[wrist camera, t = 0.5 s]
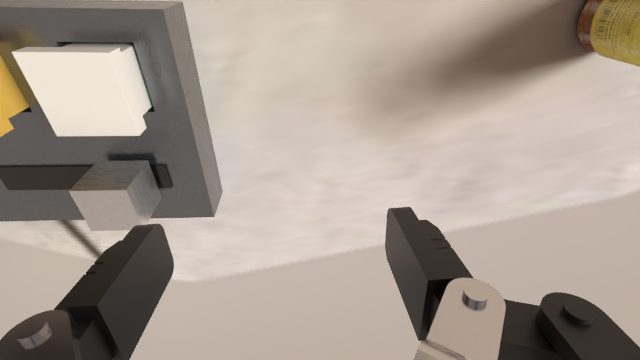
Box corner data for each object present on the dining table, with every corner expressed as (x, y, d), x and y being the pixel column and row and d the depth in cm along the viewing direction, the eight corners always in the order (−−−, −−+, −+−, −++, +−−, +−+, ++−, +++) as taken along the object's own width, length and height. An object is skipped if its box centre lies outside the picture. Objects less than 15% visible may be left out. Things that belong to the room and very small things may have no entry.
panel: (-228, -5, 22) (-327, 2, 18) (182, 1, 23) (162, 9, 20) (-51, 196, 32) (-93, 224, 29) (222, 191, 34) (213, 218, 30)
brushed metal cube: (97, 160, 25) (68, 191, 22) (148, 160, 26) (126, 190, 22) (115, 198, 28) (91, 230, 24) (161, 197, 28) (143, 229, 25)
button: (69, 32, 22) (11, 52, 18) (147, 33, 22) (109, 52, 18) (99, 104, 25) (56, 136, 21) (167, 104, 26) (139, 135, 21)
